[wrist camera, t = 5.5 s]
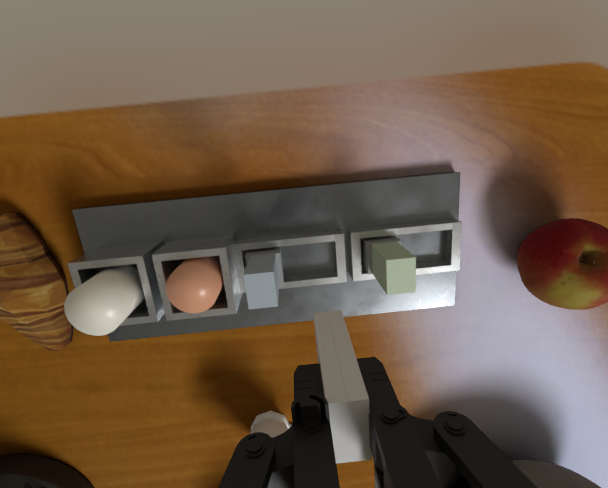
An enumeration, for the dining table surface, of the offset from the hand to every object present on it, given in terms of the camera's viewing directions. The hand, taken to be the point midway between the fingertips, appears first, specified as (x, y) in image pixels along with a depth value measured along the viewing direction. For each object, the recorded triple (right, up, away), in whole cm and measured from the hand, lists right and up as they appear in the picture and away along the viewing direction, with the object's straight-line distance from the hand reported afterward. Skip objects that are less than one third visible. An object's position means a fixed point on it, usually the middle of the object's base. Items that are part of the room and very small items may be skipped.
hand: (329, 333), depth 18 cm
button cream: (-17, +1, +10) cm, 20 cm away
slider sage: (+6, +4, +13) cm, 15 cm away
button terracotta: (-10, +3, +12) cm, 16 cm away
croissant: (-26, +2, +14) cm, 30 cm away
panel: (-4, +4, +14) cm, 15 cm away
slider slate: (-5, +3, +12) cm, 14 cm away
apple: (+22, +4, +15) cm, 27 cm away
